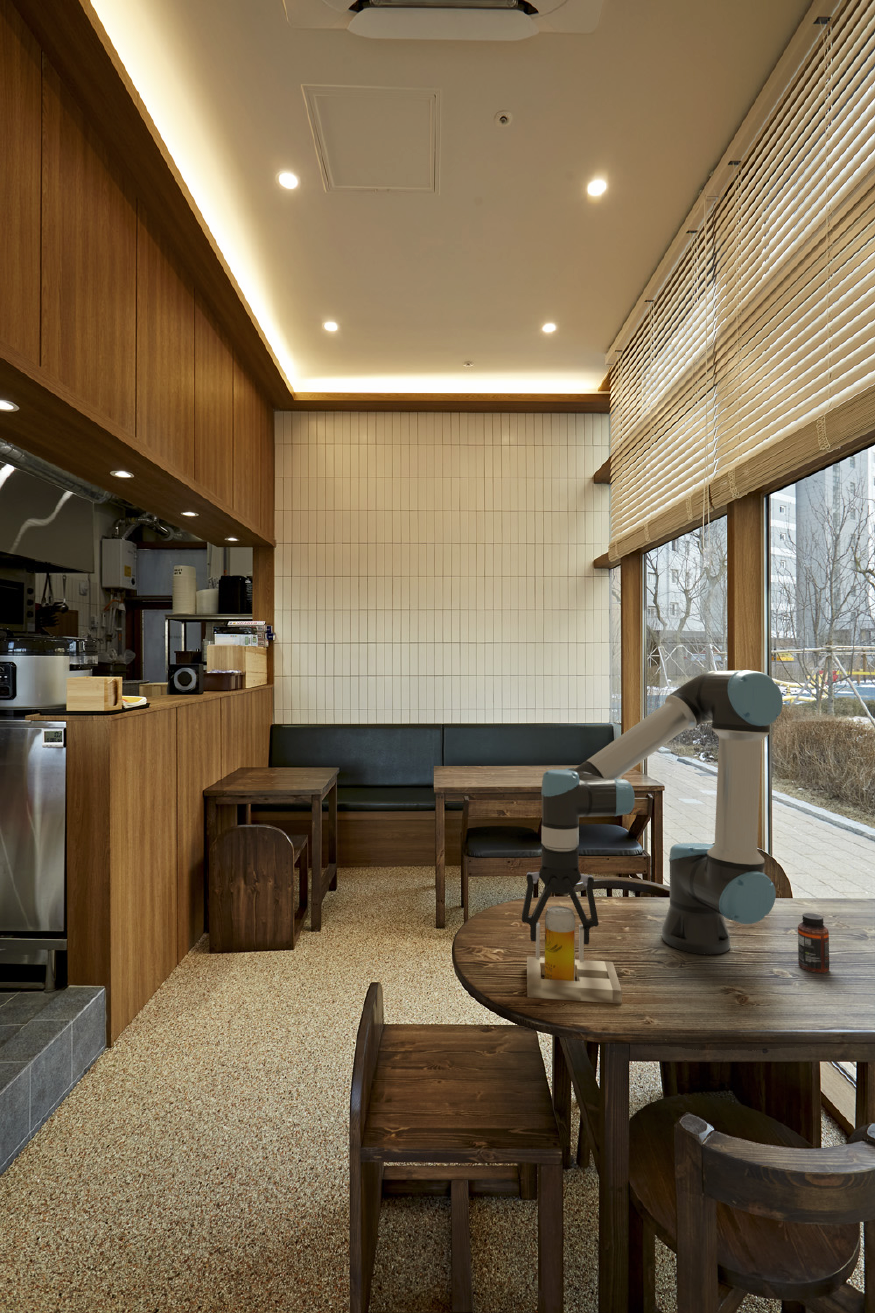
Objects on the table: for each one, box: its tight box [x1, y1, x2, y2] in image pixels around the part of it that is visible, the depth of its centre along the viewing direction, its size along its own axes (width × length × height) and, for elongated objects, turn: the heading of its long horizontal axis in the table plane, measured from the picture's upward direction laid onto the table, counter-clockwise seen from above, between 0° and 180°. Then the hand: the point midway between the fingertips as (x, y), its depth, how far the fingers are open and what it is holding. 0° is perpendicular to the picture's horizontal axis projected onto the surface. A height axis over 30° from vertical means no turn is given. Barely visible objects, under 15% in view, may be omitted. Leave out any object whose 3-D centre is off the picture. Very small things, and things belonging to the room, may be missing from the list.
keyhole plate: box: [526, 956, 623, 1005], centre depth 136 cm, size 18×13×2 cm
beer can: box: [544, 905, 576, 981], centre depth 136 cm, size 6×6×15 cm
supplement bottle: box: [797, 912, 830, 974], centre depth 145 cm, size 6×6×11 cm
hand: (559, 958), depth 136 cm, fingers open, 8 cm apart
